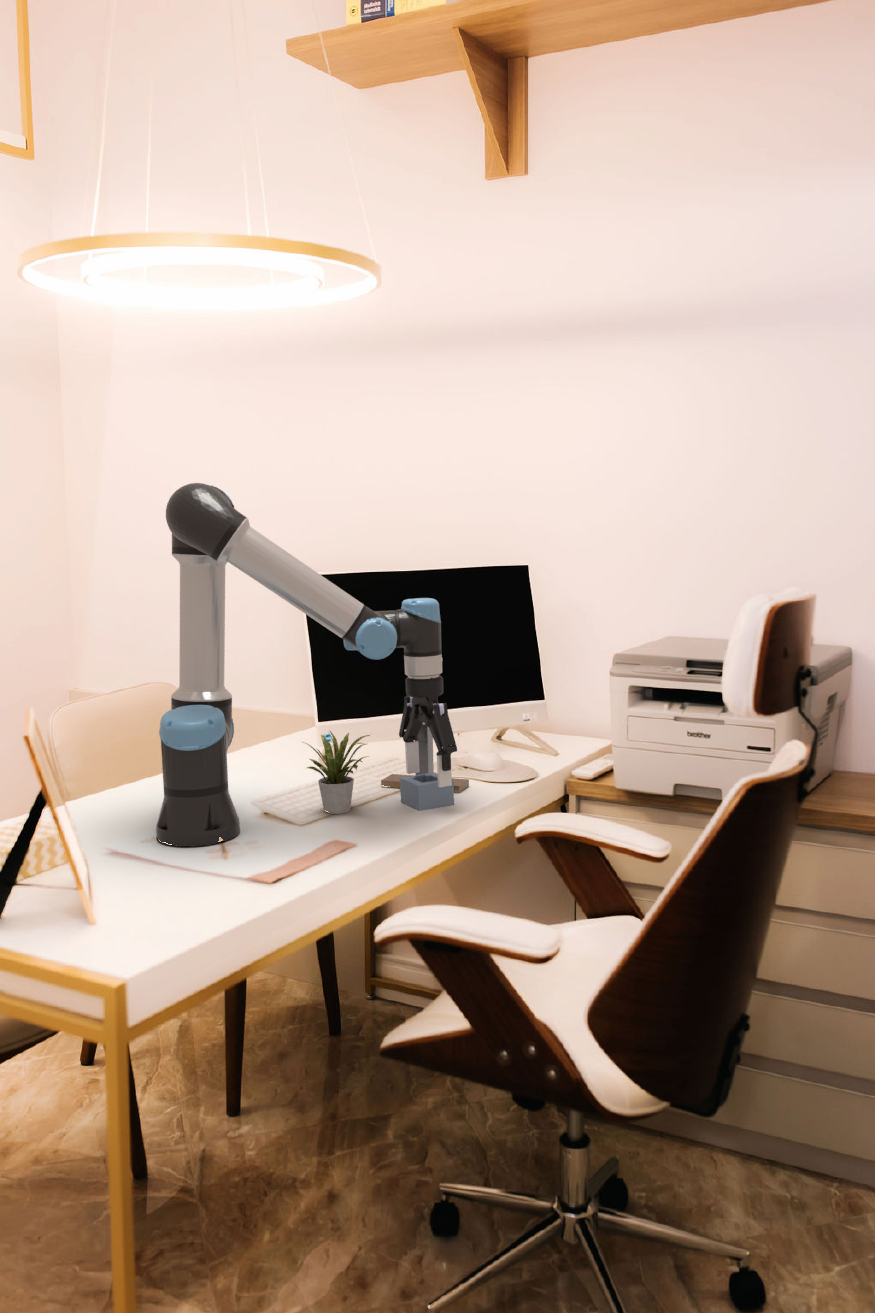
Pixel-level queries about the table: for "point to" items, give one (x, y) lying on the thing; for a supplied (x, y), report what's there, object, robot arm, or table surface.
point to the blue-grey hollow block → (425, 792)
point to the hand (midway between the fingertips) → (428, 779)
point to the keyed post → (424, 762)
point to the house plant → (336, 775)
